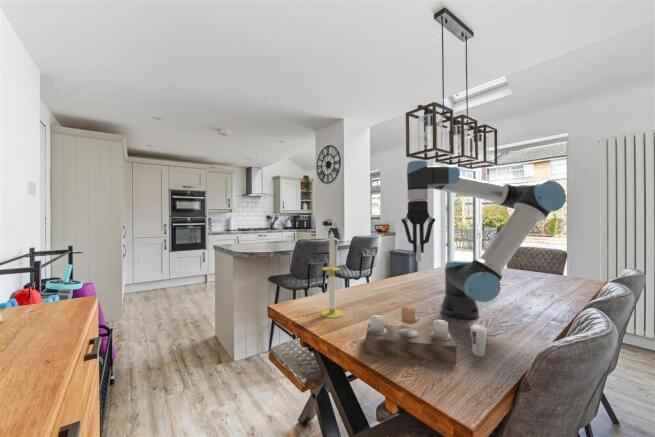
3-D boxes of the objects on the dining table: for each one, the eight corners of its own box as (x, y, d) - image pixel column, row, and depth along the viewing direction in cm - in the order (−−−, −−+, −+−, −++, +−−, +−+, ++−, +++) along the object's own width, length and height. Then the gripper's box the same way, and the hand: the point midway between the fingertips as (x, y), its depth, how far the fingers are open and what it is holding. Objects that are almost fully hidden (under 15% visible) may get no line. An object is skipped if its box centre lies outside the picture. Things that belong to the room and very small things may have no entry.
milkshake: (465, 351, 92) (465, 320, 92) (481, 350, 93) (481, 320, 92) (473, 358, 88) (473, 326, 87) (490, 357, 88) (490, 325, 88)
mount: (448, 344, 97) (448, 328, 97) (456, 362, 85) (456, 344, 85) (368, 337, 103) (368, 322, 103) (365, 353, 91) (365, 336, 91)
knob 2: (446, 332, 93) (446, 319, 93) (449, 338, 89) (449, 325, 89) (432, 331, 94) (432, 318, 94) (434, 336, 90) (434, 324, 90)
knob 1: (384, 327, 98) (384, 315, 98) (383, 332, 94) (383, 320, 93) (371, 326, 99) (371, 314, 99) (370, 331, 94) (370, 319, 94)
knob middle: (414, 319, 96) (414, 307, 95) (415, 324, 91) (415, 311, 91) (401, 318, 97) (401, 306, 96) (401, 323, 92) (401, 310, 92)
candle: (336, 319, 120) (335, 230, 119) (316, 315, 125) (315, 229, 124) (347, 312, 128) (346, 229, 127) (328, 308, 134) (327, 228, 133)
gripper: (433, 200, 114) (434, 259, 115) (399, 201, 116) (400, 259, 117) (437, 200, 107) (438, 262, 107) (401, 201, 109) (402, 262, 110)
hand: (418, 260), depth 112 cm, fingers closed
